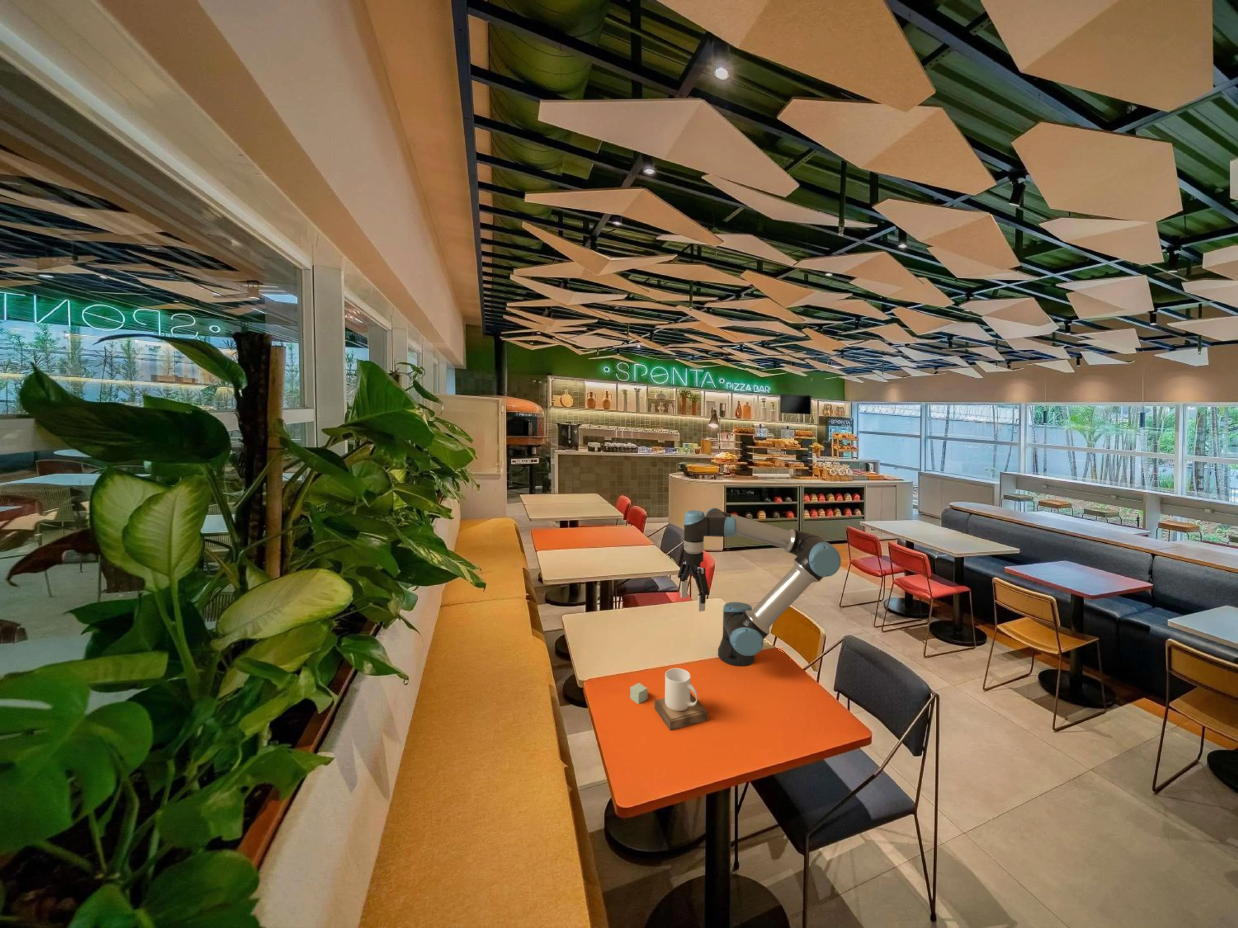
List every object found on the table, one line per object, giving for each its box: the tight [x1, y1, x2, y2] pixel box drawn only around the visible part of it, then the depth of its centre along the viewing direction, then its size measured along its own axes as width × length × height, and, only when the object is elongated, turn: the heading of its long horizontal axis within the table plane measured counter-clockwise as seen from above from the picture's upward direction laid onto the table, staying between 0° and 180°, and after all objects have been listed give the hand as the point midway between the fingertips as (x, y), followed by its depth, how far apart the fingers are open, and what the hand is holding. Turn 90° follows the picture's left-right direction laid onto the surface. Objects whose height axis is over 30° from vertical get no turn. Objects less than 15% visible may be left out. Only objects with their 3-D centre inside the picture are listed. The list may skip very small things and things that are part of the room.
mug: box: [664, 667, 698, 711], centre depth 159 cm, size 9×12×11 cm
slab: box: [654, 692, 708, 731], centre depth 160 cm, size 14×12×3 cm
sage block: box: [629, 682, 648, 705], centre depth 169 cm, size 4×4×4 cm
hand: (692, 603), depth 182 cm, fingers open, 13 cm apart
